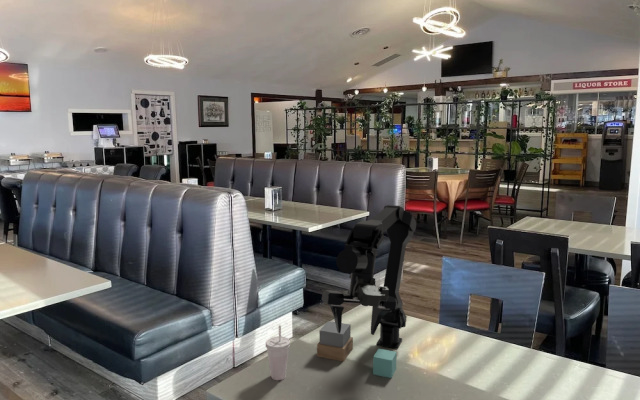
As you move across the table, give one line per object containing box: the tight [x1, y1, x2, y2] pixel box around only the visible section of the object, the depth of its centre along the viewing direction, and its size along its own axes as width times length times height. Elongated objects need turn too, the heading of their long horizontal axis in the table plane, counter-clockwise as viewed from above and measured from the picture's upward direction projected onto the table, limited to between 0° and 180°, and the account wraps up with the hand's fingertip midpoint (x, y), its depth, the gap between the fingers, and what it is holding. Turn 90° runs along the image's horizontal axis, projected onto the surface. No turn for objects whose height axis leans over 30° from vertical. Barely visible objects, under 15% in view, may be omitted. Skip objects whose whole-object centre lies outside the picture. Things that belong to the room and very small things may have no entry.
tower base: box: [316, 336, 354, 362], centre depth 133 cm, size 8×8×4 cm
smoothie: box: [265, 324, 291, 381], centre depth 120 cm, size 6×6×14 cm
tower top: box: [319, 320, 352, 348], centre depth 133 cm, size 7×7×4 cm
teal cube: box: [372, 348, 398, 379], centre depth 123 cm, size 5×5×5 cm
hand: (355, 333), depth 118 cm, fingers open, 9 cm apart
